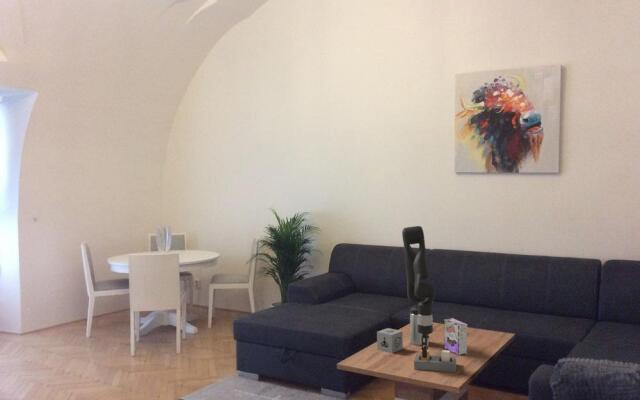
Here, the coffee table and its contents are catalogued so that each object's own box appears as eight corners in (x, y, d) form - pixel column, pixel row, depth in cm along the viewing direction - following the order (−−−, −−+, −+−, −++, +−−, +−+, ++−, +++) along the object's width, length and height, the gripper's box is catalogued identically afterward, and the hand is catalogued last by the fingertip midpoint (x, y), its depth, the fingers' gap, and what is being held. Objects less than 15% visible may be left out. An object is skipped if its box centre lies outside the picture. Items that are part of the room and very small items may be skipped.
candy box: (443, 348, 320) (443, 318, 319) (453, 347, 322) (452, 317, 321) (458, 355, 307) (458, 324, 306) (467, 354, 309) (467, 323, 308)
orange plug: (421, 362, 293) (421, 349, 293) (429, 363, 292) (429, 349, 292) (421, 365, 289) (420, 351, 289) (429, 365, 288) (429, 351, 288)
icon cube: (387, 345, 327) (387, 328, 326) (402, 349, 320) (402, 331, 319) (377, 349, 319) (377, 331, 319) (392, 353, 313) (391, 335, 312)
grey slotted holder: (416, 361, 298) (416, 346, 298) (456, 364, 293) (456, 348, 293) (414, 369, 287) (414, 353, 286) (455, 372, 281) (455, 355, 281)
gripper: (418, 319, 298) (419, 350, 299) (416, 326, 284) (416, 359, 285) (433, 320, 296) (433, 351, 297) (431, 327, 282) (431, 360, 283)
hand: (425, 355), depth 291 cm, fingers open, 8 cm apart
